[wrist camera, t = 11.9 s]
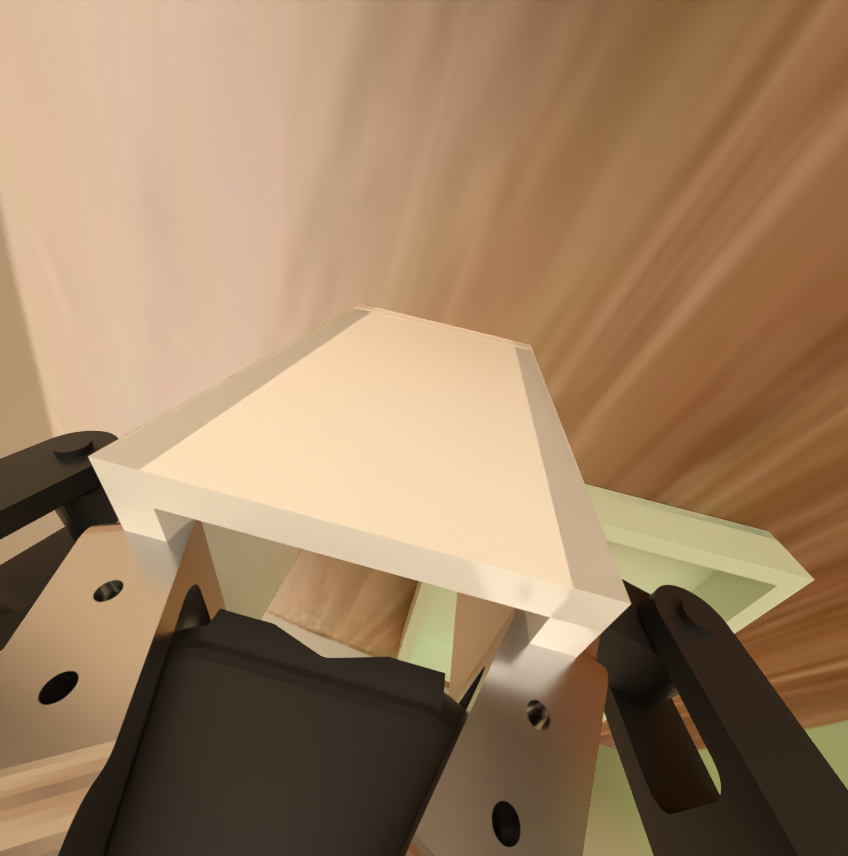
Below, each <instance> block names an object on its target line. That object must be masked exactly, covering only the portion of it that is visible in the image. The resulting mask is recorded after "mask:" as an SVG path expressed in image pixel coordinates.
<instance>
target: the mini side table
mask: <svg viewBox="0 0 848 856" xmlns="http://www.w3.org/2000/svg"><path fill="white" fill-rule="evenodd" d="M88 458H89V460H90V462H91V464H92V466H93V468H94V470H95V472H96V474H97V476H98V478H99V480H100V482H101V484H102V486H103V488H104V490H105V492H106V494H107V496H108V498H109V500H110V502H111V504H112V506H113V508H114V511H115V513H116V515H117V517H118V519H119V521H120V523H121V525H122V527H123V529H124V530H125V531H129V532H132V533H136V534H140V535H144V536H147V537H151V538H154V539H158V540H161V541H165V542H168V541H169V540H170V539H171V538H172V537H173V536H174V535H175V534H176V533H177V532H178V531H179V530H180V529H181V528H182V527H183V526H185V525H186V524H187V523H189V522H190V521H192V520H194V519H196V520H199V521H201V522H202V525H203V529H204V532H205V536H206V539H207V543H208V546H209V550H210V554H211V557H212V561H213V564H214V568H215V571H216V575H217V578H218V582H219V586H220V589H221V593H222V596H223V600H224V603H225V607H226V610H227V611H231V612H234V613H237V614H241V615H244V616H248V617H251V618H255V619H258V620H260V619H261V618H262V616H263V614H264V613H265V611H266V609H267V608H268V606H269V604H270V602H271V601H272V599H273V597H274V596H275V594H276V592H277V591H278V589H279V587H280V585H281V584H282V582H283V580H284V579H285V577H286V575H287V573H288V572H289V570H290V568H291V567H292V565H293V563H294V562H295V560H296V558H297V556H298V555H299V553H300V551H301V550H302V549H304V550H308V551H311V552H315V553H319V554H322V555H326V556H330V557H333V558H337V559H340V560H344V561H348V562H351V563H355V564H359V565H362V566H366V567H369V568H373V569H377V570H380V571H384V572H388V573H391V574H395V575H398V576H402V577H406V578H409V579H413V580H417V581H420V582H424V583H427V584H431V585H435V586H438V587H442V588H445V589H449V590H453V591H456V592H457V601H456V613H455V625H454V637H453V649H452V661H451V673H450V685H449V696H450V697H452V698H453V699H454V700H455V701H456V700H457V698H458V696H459V694H460V692H461V690H462V688H463V687H464V685H465V683H466V681H467V680H468V678H469V677H470V675H471V674H472V672H473V671H474V669H475V667H476V666H477V664H478V663H479V661H480V660H481V658H482V657H483V655H484V654H485V652H486V651H487V649H488V648H489V646H490V645H491V643H492V642H493V640H494V639H495V637H496V636H497V634H498V632H499V631H500V629H501V628H502V626H503V625H504V623H505V622H506V620H507V619H508V617H509V616H510V614H511V613H512V611H513V610H514V608H518V609H522V610H524V613H525V616H526V621H527V628H528V637H529V644H533V645H536V646H540V647H543V648H547V649H551V650H554V651H558V652H561V653H564V654H568V655H571V656H574V657H577V656H578V655H579V654H580V653H581V652H582V651H584V650H585V649H586V648H587V647H588V646H589V645H590V644H591V643H592V642H593V641H594V640H595V639H596V638H597V637H598V636H599V635H600V634H601V633H602V632H603V631H604V630H605V629H606V628H607V627H608V626H609V625H610V624H611V623H612V622H613V621H614V620H615V619H616V618H617V617H618V616H619V615H620V614H621V613H623V612H624V611H625V610H626V609H627V608H628V607H629V606H630V605H631V602H630V599H629V597H628V594H627V591H626V589H625V586H624V584H623V581H622V579H621V576H620V573H619V571H618V568H617V566H616V563H615V561H614V558H613V555H612V553H611V550H610V548H609V545H608V543H607V540H606V537H605V535H604V532H603V530H602V527H601V525H600V522H599V519H598V517H597V514H596V512H595V509H594V507H593V504H592V501H591V499H590V496H589V494H588V491H587V489H586V486H585V483H584V481H583V478H582V476H581V473H580V470H579V468H578V465H577V463H576V460H575V458H574V455H573V452H572V450H571V447H570V445H569V442H568V440H567V437H566V434H565V432H564V429H563V427H562V424H561V422H560V419H559V416H558V414H557V411H556V409H555V406H554V404H553V401H552V398H551V396H550V393H549V391H548V388H547V386H546V383H545V380H544V378H543V375H542V373H541V370H540V368H539V365H538V362H537V360H536V357H535V355H534V352H533V349H532V347H531V345H530V344H526V343H522V342H518V341H513V340H509V339H505V338H501V337H497V336H493V335H489V334H484V333H480V332H476V331H472V330H468V329H464V328H460V327H456V326H451V325H447V324H443V323H439V322H435V321H431V320H427V319H422V318H418V317H414V316H410V315H406V314H402V313H398V312H394V311H389V310H385V309H381V308H377V307H373V306H369V305H365V304H359V305H357V306H356V307H354V308H352V309H350V310H349V311H347V312H345V313H343V314H341V315H340V316H338V317H336V318H334V319H332V320H331V321H329V322H327V323H325V324H324V325H322V326H320V327H318V328H316V329H315V330H313V331H311V332H309V333H307V334H306V335H304V336H302V337H300V338H298V339H297V340H295V341H293V342H291V343H290V344H288V345H286V346H284V347H282V348H281V349H279V350H277V351H275V352H273V353H272V354H270V355H268V356H266V357H265V358H263V359H261V360H259V361H257V362H256V363H254V364H252V365H250V366H248V367H247V368H245V369H243V370H241V371H240V372H238V373H236V374H234V375H232V376H231V377H229V378H227V379H225V380H223V381H222V382H220V383H218V384H216V385H214V386H213V387H211V388H209V389H207V390H206V391H204V392H202V393H200V394H198V395H197V396H195V397H193V398H191V399H189V400H188V401H186V402H184V403H182V404H181V405H179V406H177V407H175V408H173V409H172V410H170V411H168V412H166V413H164V414H163V415H161V416H159V417H157V418H156V419H154V420H152V421H150V422H148V423H147V424H145V425H143V426H141V427H139V428H138V429H136V430H134V431H132V432H130V433H129V434H127V435H125V436H123V437H122V438H120V439H118V440H116V441H114V442H113V443H111V444H109V445H107V446H105V447H104V448H102V449H100V450H98V451H97V452H95V453H93V454H91V455H89V456H88Z"/></svg>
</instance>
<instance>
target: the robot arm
mask: <svg viewBox="0 0 848 856" xmlns="http://www.w3.org/2000/svg"><path fill="white" fill-rule="evenodd" d="M116 440H118V438H117V437H116V436H115V435H113V434H111V433H108V432H103V431H82V432H75V433H69V434H65V435H61V436H58V437H55V438H52V439H49V440H47V441H44V442H42V443H39V444H37V445H34V446H31V447H29V448H26V449H24V450H21V451H19V452H16V453H14V454H11V455H9V456H7V457H4V458H1V459H0V539H2V538H4V537H5V536H8V535H9V534H11V533H13V532H15V531H17V530H19V529H20V528H22V527H24V526H26V525H27V524H30V523H31V522H33V521H35V520H37V519H39V518H41V517H43V516H44V515H46V514H48V513H50V512H52V511H53V510H55V511H56V513H57V514H58V516H59V517H60V519H61V521H62V522H63V524H64V525H65V527H64V528H62V529H61V530H59V531H57V532H55V533H54V534H52V535H50V536H49V537H47V538H45V539H44V540H42V541H40V542H39V543H37V544H35V545H33V546H32V547H30V548H28V549H27V550H25V551H23V552H22V553H20V554H18V555H17V556H15V557H13V558H12V559H10V560H8V561H6V562H5V563H3V564H1V565H0V651H1V650H2V652H1V653H0V856H582V854H583V847H584V841H585V834H586V828H587V821H588V814H589V807H590V801H591V794H592V788H593V780H594V773H595V766H596V761H597V754H598V747H599V741H600V734H601V727H602V721H603V714H604V713H605V716H606V719H607V722H608V724H609V727H610V730H611V733H612V736H613V739H614V742H615V745H616V748H617V751H618V753H619V756H620V759H621V762H622V765H623V768H624V771H625V773H626V776H627V779H628V782H629V785H630V788H631V791H632V794H633V797H634V800H635V803H636V806H637V808H638V811H639V814H640V817H641V820H642V823H643V826H644V829H645V832H646V834H647V837H648V840H649V843H650V846H651V849H652V852H653V855H654V856H848V790H847V788H846V787H845V786H844V784H843V783H842V782H841V780H840V779H839V777H838V776H837V775H836V773H835V772H834V770H833V769H832V768H831V766H830V765H829V764H828V762H827V761H826V759H825V758H824V757H823V755H822V754H821V753H820V751H819V750H818V748H817V747H816V746H815V744H814V743H813V742H812V740H811V739H810V738H809V736H808V735H807V733H806V732H805V731H804V729H803V728H802V726H801V725H800V724H799V722H798V721H797V719H796V718H795V717H794V715H793V714H792V713H791V711H790V710H789V708H788V707H787V706H786V704H785V703H784V702H783V700H782V699H781V697H780V696H779V695H778V693H777V692H776V691H775V689H774V688H773V686H772V685H771V684H770V682H769V681H768V680H767V678H766V677H765V675H764V674H763V673H762V671H761V670H760V669H759V667H758V666H757V664H756V663H755V662H754V660H753V659H752V658H751V656H750V655H749V653H748V652H747V651H746V649H745V648H744V647H743V645H742V644H741V642H740V641H739V640H738V638H737V637H736V636H735V634H734V633H733V631H732V630H731V629H730V627H729V626H728V625H727V623H726V622H725V621H724V619H723V618H722V617H721V616H720V615H719V614H718V613H717V612H716V611H715V610H714V609H713V608H712V607H711V606H710V605H709V604H707V603H706V602H705V601H704V600H702V599H701V598H699V597H698V596H697V595H695V594H693V593H692V592H690V591H688V590H686V589H684V588H681V587H678V586H674V585H662V586H660V587H658V588H657V589H656V590H655V591H654V592H653V593H652V594H649V593H647V592H645V591H644V590H642V589H640V588H638V587H636V586H634V585H632V584H630V583H629V582H627V581H625V580H623V579H622V581H623V584H624V586H625V589H626V591H627V594H628V597H629V599H630V602H631V605H630V606H629V607H628V608H627V609H626V610H625V611H624V612H623V613H621V614H620V615H619V616H618V617H617V618H616V619H615V620H614V621H613V622H612V623H611V624H610V625H609V626H608V627H607V628H606V629H605V630H604V631H603V632H602V633H601V634H600V635H599V636H598V637H597V638H596V639H595V640H594V641H593V642H592V643H591V644H590V645H589V646H588V647H587V648H586V649H585V650H584V651H582V652H581V653H580V654H579V655H578V656H577V657H574V656H571V655H568V654H564V653H561V652H558V651H554V650H551V649H547V648H543V647H540V646H536V645H533V644H529V637H528V628H527V621H526V616H525V613H524V610H522V609H518V608H514V610H513V611H512V613H511V614H510V616H509V617H508V619H507V620H506V622H505V623H504V625H503V626H502V628H501V629H500V631H499V632H498V634H497V636H496V637H495V639H494V640H493V642H492V643H491V645H490V646H489V648H488V649H487V651H486V652H485V654H484V655H483V657H482V658H481V660H480V661H479V663H478V664H477V666H476V667H475V669H474V671H473V672H472V674H471V675H470V677H469V678H468V680H467V681H466V683H465V685H464V687H463V688H462V690H461V692H460V694H459V696H458V698H457V700H456V701H455V700H454V699H453V698H452V697H450V696H449V695H447V694H445V693H444V683H445V673H443V672H440V671H436V670H433V669H429V668H426V667H422V666H419V665H415V664H412V663H408V662H405V661H401V660H398V659H394V658H391V657H362V658H325V657H322V656H320V655H318V654H317V653H316V652H314V651H313V650H311V649H310V648H308V647H307V646H305V645H304V644H302V643H301V642H300V641H298V640H297V639H295V638H294V637H292V636H291V635H289V634H288V633H286V632H285V631H284V630H282V629H281V628H279V627H277V626H276V625H274V624H272V623H269V622H265V621H262V620H258V619H255V618H251V617H248V616H244V615H241V614H237V613H234V612H231V611H227V610H226V607H225V603H224V600H223V596H222V593H221V589H220V586H219V582H218V578H217V575H216V571H215V568H214V564H213V561H212V557H211V554H210V550H209V546H208V543H207V539H206V536H205V532H204V529H203V525H202V522H201V521H199V520H196V519H194V520H192V521H190V522H189V523H187V524H186V525H185V526H183V527H182V528H181V529H180V530H179V531H178V532H177V533H176V534H175V535H174V536H173V537H172V538H171V539H170V540H169V541H168V542H165V541H161V540H158V539H154V538H151V537H147V536H144V535H140V534H136V533H132V532H129V531H125V530H124V529H123V527H122V525H121V523H120V521H119V519H118V517H117V515H116V513H115V511H114V508H113V506H112V504H111V502H110V500H109V498H108V496H107V494H106V492H105V490H104V488H103V486H102V484H101V482H100V480H99V478H98V476H97V474H96V472H95V470H94V468H93V466H92V464H91V462H90V460H89V458H88V456H89V455H91V454H93V453H95V452H97V451H98V450H100V449H102V448H104V447H105V446H107V445H109V444H111V443H113V442H114V441H116ZM678 694H679V695H680V697H681V699H682V701H683V703H684V705H685V707H686V709H687V711H688V712H689V714H690V716H691V718H692V720H693V722H694V724H695V726H696V728H697V730H698V732H699V734H700V736H701V738H702V740H703V741H704V743H705V745H706V747H707V749H708V751H709V753H710V755H711V757H712V759H713V761H714V763H715V765H716V767H717V770H718V773H719V777H720V782H721V795H720V794H719V793H718V791H717V789H716V787H715V785H714V783H713V781H712V779H711V777H710V775H709V773H708V771H707V769H706V767H705V765H704V763H703V760H702V759H701V757H700V754H699V752H698V750H697V748H696V746H695V744H694V742H693V740H692V738H691V736H690V734H689V732H688V730H687V728H686V726H685V724H684V722H683V720H682V718H681V716H680V714H679V712H678V710H677V708H676V706H675V704H674V702H673V700H672V698H673V697H674V696H676V695H678Z"/></svg>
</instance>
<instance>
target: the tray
mask: <svg viewBox="0 0 848 856" xmlns="http://www.w3.org/2000/svg"><path fill="white" fill-rule="evenodd" d="M585 486H586V489H587V491H588V494H589V496H590V499H591V501H592V504H593V507H594V509H595V512H596V514H597V517H598V519H599V522H600V525H601V527H602V530H603V532H604V535H605V537H606V540H607V543H608V545H609V548H610V550H611V553H612V555H613V558H614V561H615V563H616V566H617V568H618V571H619V573H620V576H621V579H623V580H625V581H627V582H629V583H630V584H632V585H634V586H636V587H638V588H640V589H642V590H644V591H645V592H647V593H649V594H652V593H653V592H654V591H655V590H656V589H657V588H658V587H660V586H662V585H674V586H678V587H681V588H684V589H686V590H688V591H690V592H692V593H693V594H695V595H697V596H698V597H699V598H701V599H702V600H704V601H705V602H706V603H707V604H709V605H710V606H711V607H712V608H713V609H714V610H715V611H716V612H717V613H718V614H719V615H720V616H721V617H722V618H723V619H724V621H725V622H726V623H727V625H728V626H729V627H730V629H731V630H732V631H733V633H734V634H735V633H736V632H738V631H739V630H741V629H742V628H744V627H745V626H747V625H748V624H750V623H751V622H753V621H754V620H756V619H757V618H759V617H760V616H761V615H763V614H764V613H766V612H767V611H769V610H770V609H772V608H773V607H775V606H776V605H778V604H779V603H781V602H782V601H784V600H785V599H787V598H788V597H790V596H791V595H793V594H794V593H796V592H797V591H799V590H800V589H802V588H803V587H805V586H806V585H808V584H809V583H811V582H812V581H814V579H813V578H812V577H811V576H810V574H809V573H808V572H807V571H806V570H805V569H804V568H803V567H802V566H801V565H800V564H799V563H798V562H797V561H796V560H795V559H794V557H793V556H792V555H791V554H790V553H789V552H788V551H787V550H786V549H785V548H784V547H783V546H782V545H781V544H780V543H779V542H778V540H777V539H776V538H775V537H774V536H773V535H772V534H771V533H770V532H769V531H766V530H762V529H758V528H754V527H750V526H746V525H742V524H739V523H735V522H731V521H727V520H723V519H719V518H715V517H711V516H708V515H704V514H700V513H696V512H692V511H688V510H684V509H680V508H677V507H673V506H669V505H665V504H661V503H657V502H653V501H649V500H646V499H642V498H638V497H634V496H630V495H626V494H622V493H618V492H615V491H611V490H607V489H603V488H599V487H595V486H591V485H587V484H585ZM456 601H457V592H456V591H453V590H449V589H445V588H442V587H438V586H435V585H431V584H427V583H424V582H420V581H418V583H417V586H416V590H415V593H414V596H413V599H412V603H411V606H410V609H409V612H408V615H407V619H406V622H405V625H404V628H403V632H402V637H401V641H400V646H399V651H398V655H397V659H398V660H401V661H405V662H408V663H412V664H415V665H419V666H422V667H426V668H429V669H433V670H436V671H440V672H443V673H445V681H448V682H450V673H451V661H452V649H453V637H454V625H455V613H456ZM605 720H606V716H605V713H604V714H603V721H605ZM603 721H602V722H603Z"/></svg>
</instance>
